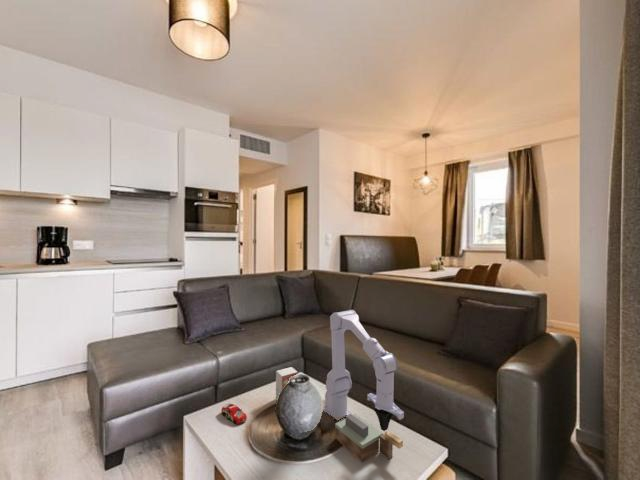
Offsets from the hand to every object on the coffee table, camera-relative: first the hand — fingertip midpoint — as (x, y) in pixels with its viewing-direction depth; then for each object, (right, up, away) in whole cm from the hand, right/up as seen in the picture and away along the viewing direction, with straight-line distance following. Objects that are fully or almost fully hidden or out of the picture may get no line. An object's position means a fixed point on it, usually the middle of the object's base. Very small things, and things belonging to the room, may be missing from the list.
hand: (384, 429), depth 104 cm
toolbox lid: (-9, -5, +4) cm, 11 cm away
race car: (-57, -8, +20) cm, 61 cm away
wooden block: (+2, -3, -3) cm, 5 cm away
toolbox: (-7, -8, +3) cm, 11 cm away
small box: (-37, -7, +33) cm, 50 cm away
